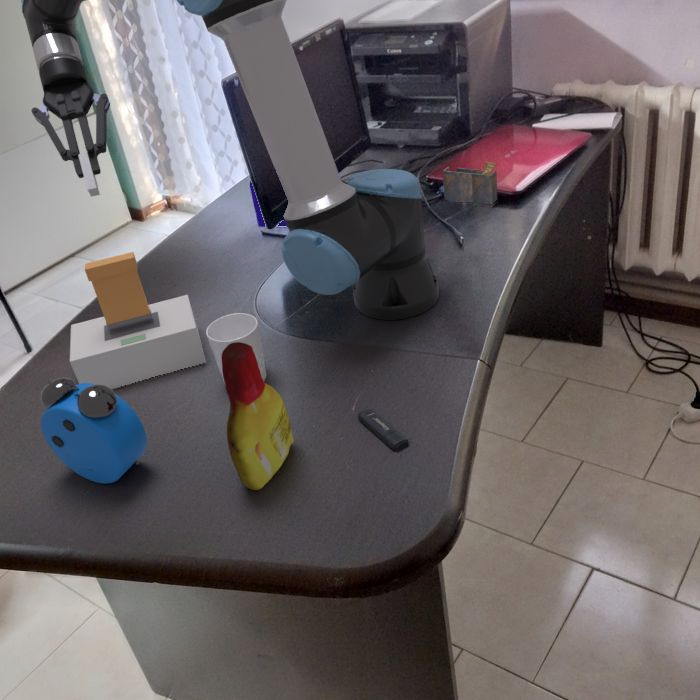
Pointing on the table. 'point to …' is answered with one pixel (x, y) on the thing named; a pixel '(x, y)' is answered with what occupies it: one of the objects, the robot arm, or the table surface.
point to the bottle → (254, 418)
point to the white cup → (236, 337)
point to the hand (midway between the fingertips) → (93, 192)
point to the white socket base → (137, 346)
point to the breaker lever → (119, 290)
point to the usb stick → (382, 430)
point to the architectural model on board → (471, 185)
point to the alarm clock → (91, 429)
